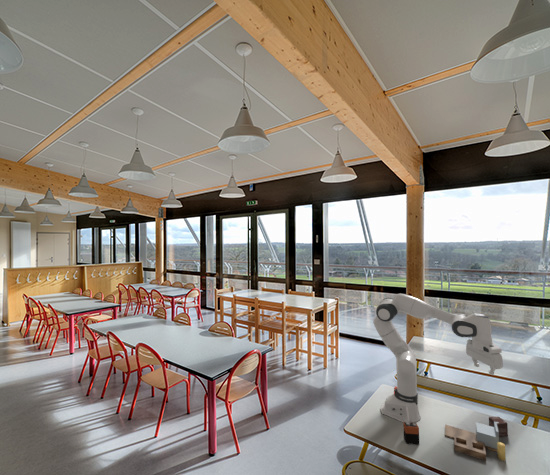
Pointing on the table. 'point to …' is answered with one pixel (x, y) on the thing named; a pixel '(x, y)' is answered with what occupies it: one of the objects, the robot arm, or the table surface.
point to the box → (499, 425)
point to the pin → (501, 451)
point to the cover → (487, 434)
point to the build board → (470, 447)
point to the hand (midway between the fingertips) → (483, 370)
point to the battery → (411, 433)
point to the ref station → (463, 434)
